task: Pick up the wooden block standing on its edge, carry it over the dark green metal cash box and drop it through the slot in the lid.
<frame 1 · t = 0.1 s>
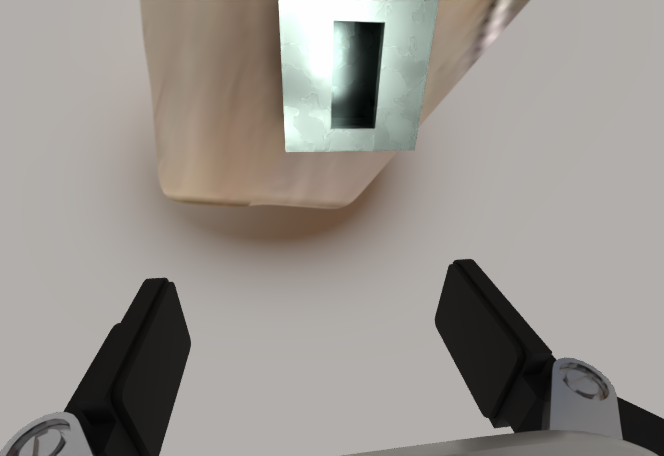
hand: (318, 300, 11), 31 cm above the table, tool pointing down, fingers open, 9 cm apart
coin box: (336, 67, 36), on the table
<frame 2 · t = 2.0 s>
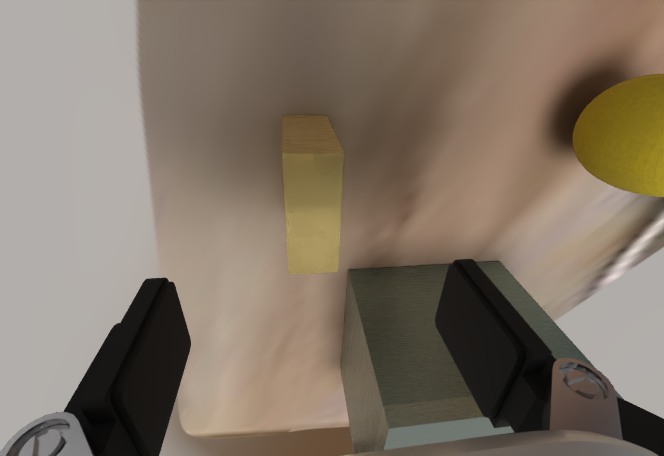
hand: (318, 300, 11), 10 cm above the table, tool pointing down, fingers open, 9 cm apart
lemon: (584, 114, 20), on the table
coin box: (412, 319, 28), on the table
wooden block: (305, 167, 19), on the table
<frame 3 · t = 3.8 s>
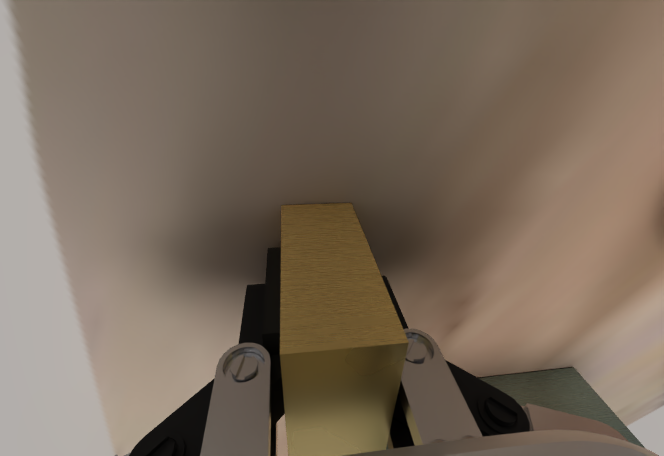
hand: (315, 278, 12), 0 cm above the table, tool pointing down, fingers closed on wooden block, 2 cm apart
coin box: (453, 436, 21), on the table
wooden block: (316, 273, 13), on the table, touching gripper
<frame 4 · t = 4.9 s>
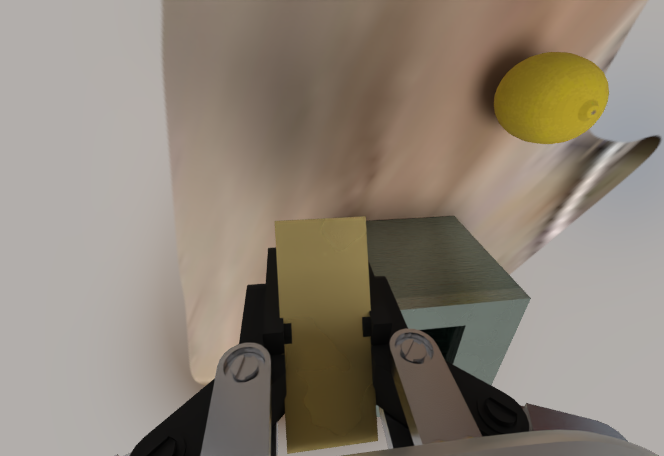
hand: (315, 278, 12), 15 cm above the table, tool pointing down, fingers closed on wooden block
lemon: (507, 89, 25), on the table
coin box: (385, 270, 33), on the table
wooden block: (312, 290, 14), point 14 cm above the table, tilted 32°, touching gripper
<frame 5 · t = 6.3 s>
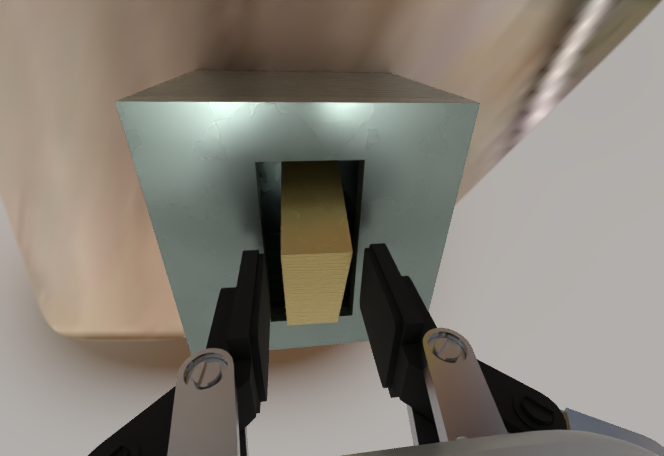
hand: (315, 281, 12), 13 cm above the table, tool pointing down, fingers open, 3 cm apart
coin box: (299, 163, 23), on the table
wooden block: (309, 269, 17), point 9 cm above the table, tilted 69°
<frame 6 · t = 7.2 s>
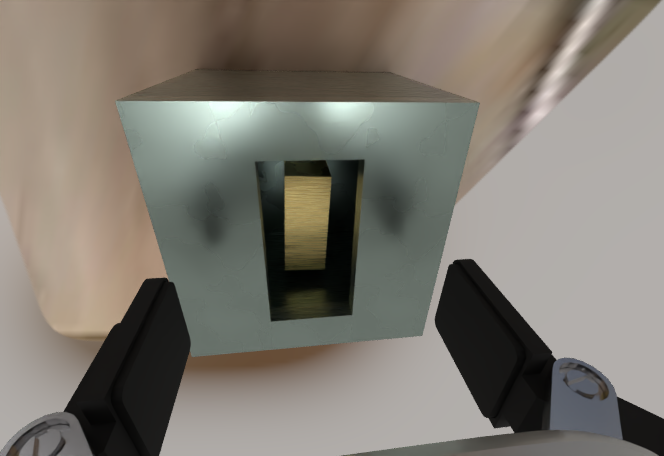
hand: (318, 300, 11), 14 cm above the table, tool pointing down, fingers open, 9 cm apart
coin box: (299, 163, 23), on the table
wooden block: (302, 242, 22), point 4 cm above the table, tilted 90°, touching coin box
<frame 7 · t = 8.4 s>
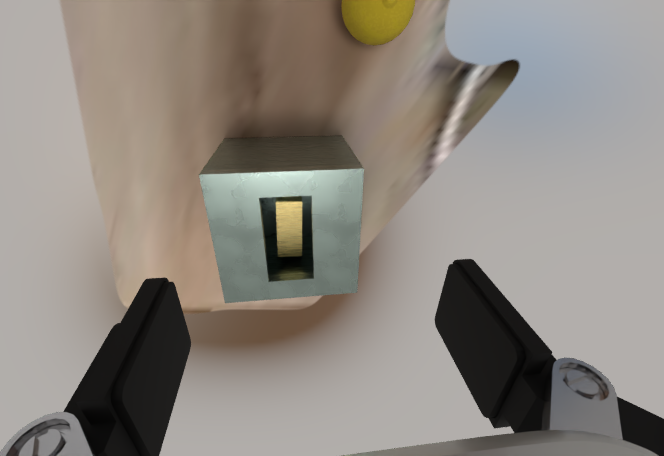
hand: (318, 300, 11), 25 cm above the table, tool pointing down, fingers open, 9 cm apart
lemon: (365, 10, 29), on the table
coin box: (287, 191, 36), on the table
wooden block: (289, 241, 35), point 4 cm above the table, tilted 90°, touching coin box
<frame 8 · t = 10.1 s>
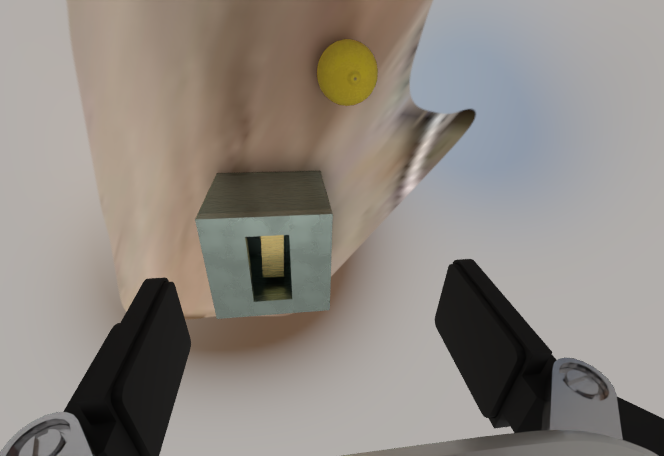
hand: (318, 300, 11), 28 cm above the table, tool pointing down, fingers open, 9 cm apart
lemon: (340, 69, 33), on the table
coin box: (273, 216, 41), on the table
wooden block: (273, 261, 40), point 4 cm above the table, tilted 90°, touching coin box
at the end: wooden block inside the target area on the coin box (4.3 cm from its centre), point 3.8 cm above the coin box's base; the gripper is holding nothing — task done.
